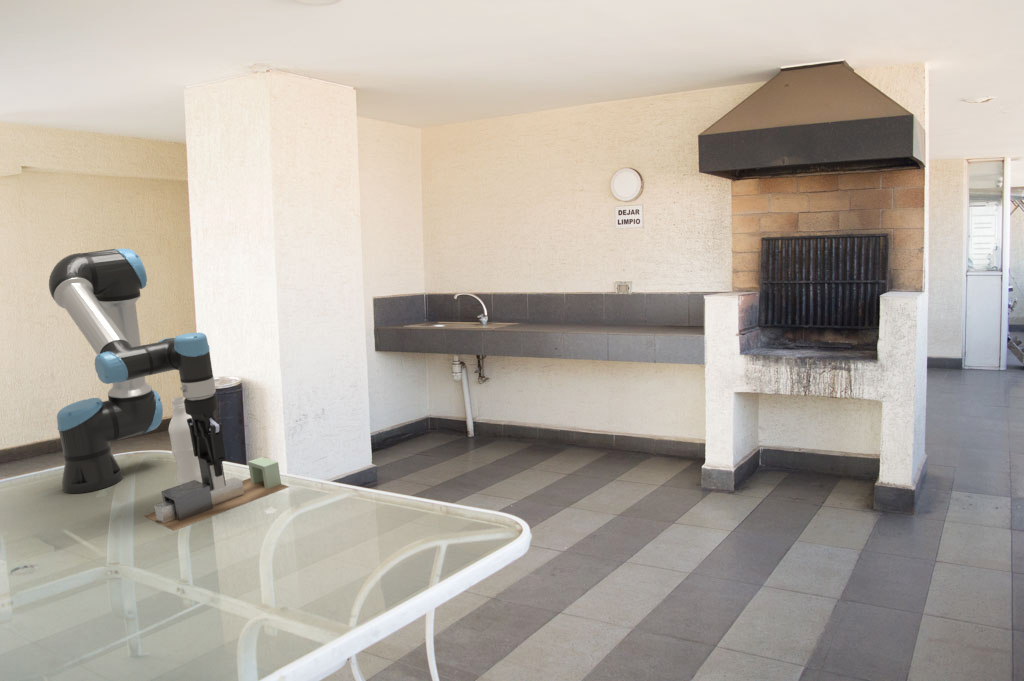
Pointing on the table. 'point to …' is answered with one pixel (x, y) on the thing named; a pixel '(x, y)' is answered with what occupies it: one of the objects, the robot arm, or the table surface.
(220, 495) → the rod
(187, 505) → the sleeve
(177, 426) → the water bottle
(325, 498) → the table surface
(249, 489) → the base board
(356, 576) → the table surface
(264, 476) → the socket block
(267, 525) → the table surface
